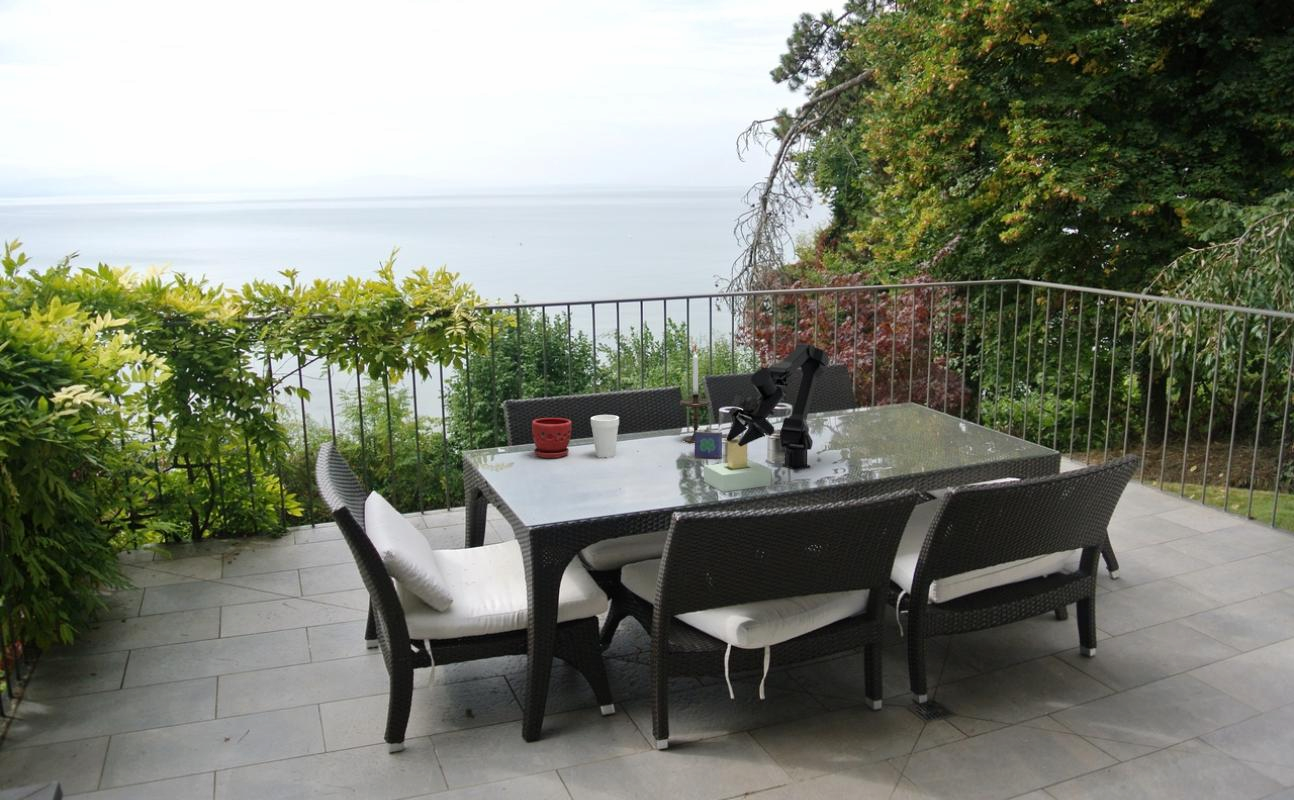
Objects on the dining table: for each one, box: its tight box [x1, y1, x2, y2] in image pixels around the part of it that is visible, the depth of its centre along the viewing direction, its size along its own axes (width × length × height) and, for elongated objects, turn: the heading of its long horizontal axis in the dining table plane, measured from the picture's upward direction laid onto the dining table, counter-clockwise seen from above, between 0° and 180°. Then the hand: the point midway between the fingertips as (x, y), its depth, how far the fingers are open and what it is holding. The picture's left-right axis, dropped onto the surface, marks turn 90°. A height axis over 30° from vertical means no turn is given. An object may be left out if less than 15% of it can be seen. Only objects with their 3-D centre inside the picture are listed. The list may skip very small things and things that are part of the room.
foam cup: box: [590, 414, 620, 458], centre depth 318 cm, size 10×9×13 cm
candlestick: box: [679, 343, 712, 444], centre depth 335 cm, size 11×11×35 cm
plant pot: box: [531, 417, 572, 459], centre depth 319 cm, size 13×13×12 cm
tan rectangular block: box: [726, 438, 748, 470], centre depth 282 cm, size 5×3×13 cm, turn 115°
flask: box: [694, 425, 723, 460], centre depth 313 cm, size 9×3×11 cm, turn 78°
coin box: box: [703, 459, 772, 493], centre depth 283 cm, size 16×12×5 cm
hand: (733, 443), depth 280 cm, fingers open, 7 cm apart
